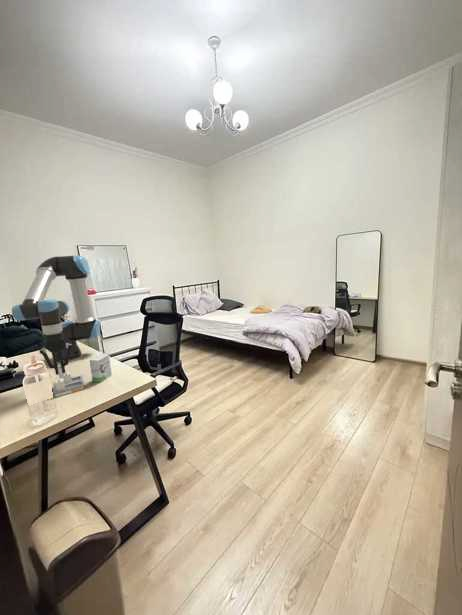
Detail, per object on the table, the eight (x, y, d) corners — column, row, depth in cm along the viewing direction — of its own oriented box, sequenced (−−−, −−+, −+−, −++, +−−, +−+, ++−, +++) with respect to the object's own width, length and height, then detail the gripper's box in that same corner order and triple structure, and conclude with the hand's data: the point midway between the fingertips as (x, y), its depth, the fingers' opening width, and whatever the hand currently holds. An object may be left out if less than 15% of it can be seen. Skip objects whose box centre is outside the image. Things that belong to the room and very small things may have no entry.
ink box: (103, 374, 133) (100, 353, 131) (112, 375, 132) (109, 353, 130) (92, 382, 124) (88, 360, 122) (101, 382, 123) (97, 360, 121)
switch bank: (54, 386, 122) (53, 382, 122) (82, 379, 128) (82, 375, 128) (54, 397, 111) (53, 392, 111) (85, 389, 118) (84, 384, 117)
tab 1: (57, 388, 116) (55, 378, 115) (64, 386, 117) (62, 376, 117) (57, 392, 113) (55, 381, 112) (65, 390, 114) (63, 379, 113)
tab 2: (64, 381, 123) (62, 371, 122) (71, 379, 125) (69, 370, 124) (64, 384, 120) (62, 374, 119) (71, 382, 121) (70, 372, 121)
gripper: (35, 337, 110) (44, 387, 114) (69, 331, 117) (78, 378, 121) (36, 334, 116) (45, 381, 120) (69, 328, 123) (77, 373, 127)
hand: (61, 379), depth 121 cm, fingers closed
